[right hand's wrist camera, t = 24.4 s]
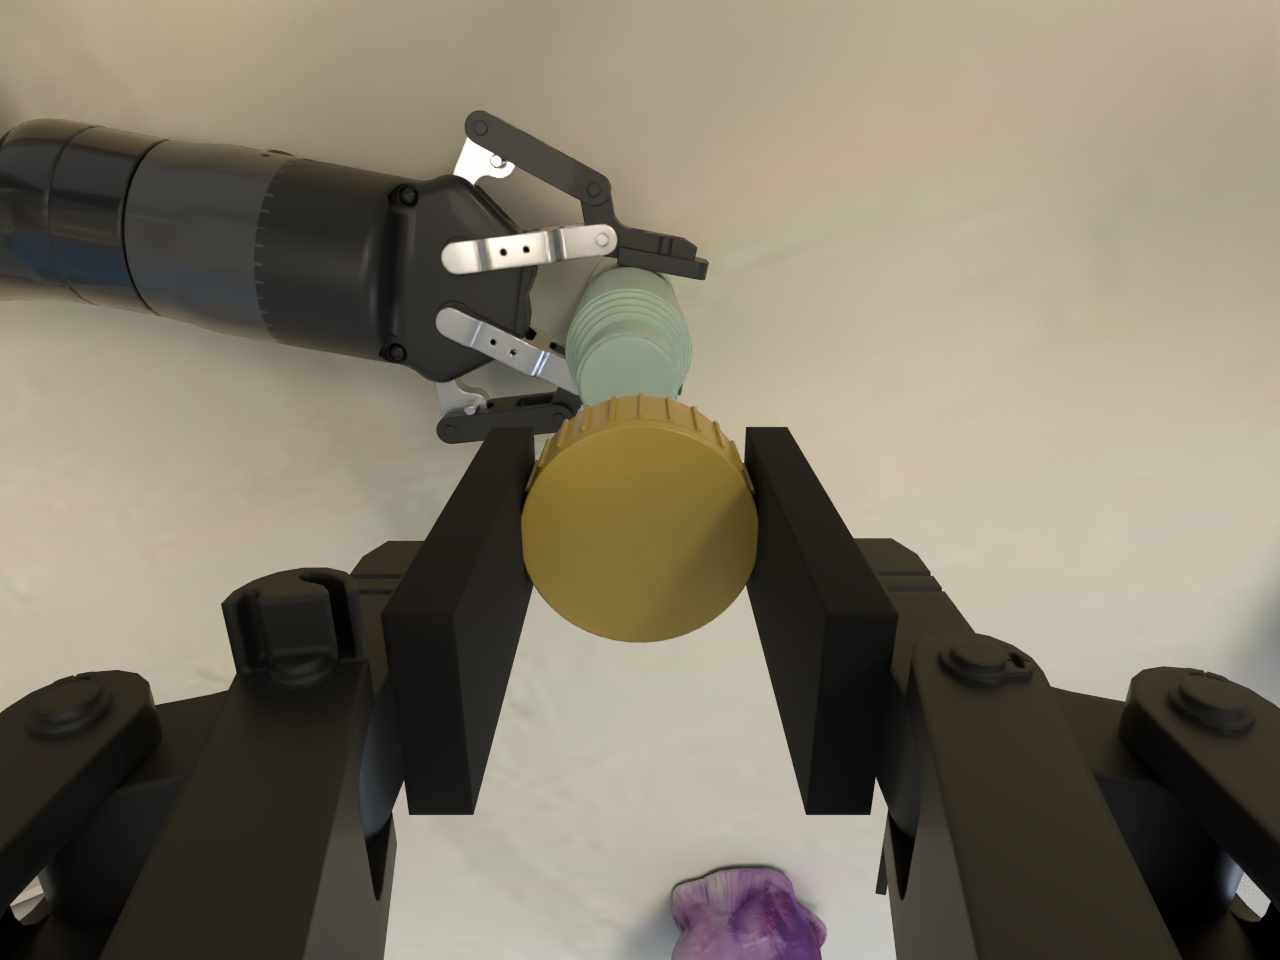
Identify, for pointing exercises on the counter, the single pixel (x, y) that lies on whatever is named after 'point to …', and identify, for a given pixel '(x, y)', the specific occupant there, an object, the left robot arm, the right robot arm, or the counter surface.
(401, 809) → the counter surface
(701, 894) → the figurine
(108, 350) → the counter surface
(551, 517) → the cap
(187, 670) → the counter surface
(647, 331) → the bottle
